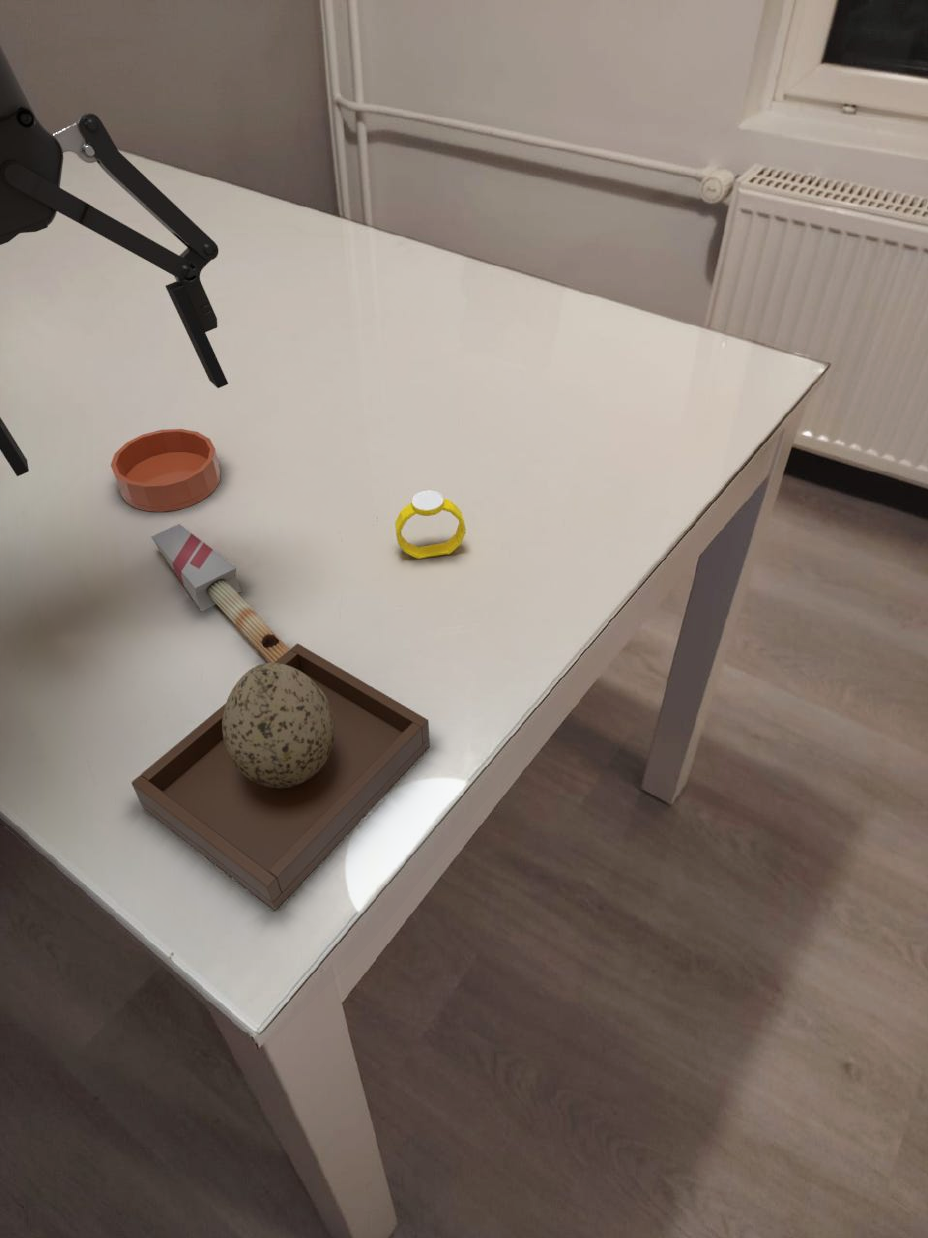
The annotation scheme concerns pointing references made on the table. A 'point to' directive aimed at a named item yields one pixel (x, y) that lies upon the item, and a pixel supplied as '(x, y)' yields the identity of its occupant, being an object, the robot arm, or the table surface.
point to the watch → (427, 506)
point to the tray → (284, 817)
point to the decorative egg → (278, 726)
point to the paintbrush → (216, 586)
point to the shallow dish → (166, 470)
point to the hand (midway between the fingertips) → (123, 424)
